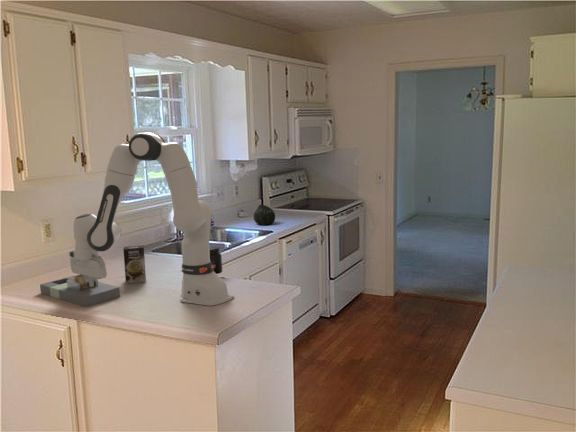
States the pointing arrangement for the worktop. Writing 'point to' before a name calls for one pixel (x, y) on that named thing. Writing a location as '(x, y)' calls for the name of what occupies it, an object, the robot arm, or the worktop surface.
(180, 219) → the robot arm
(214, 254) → the supplement bottle
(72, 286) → the tunnel deck
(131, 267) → the coffee box
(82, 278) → the maple block
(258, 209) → the squash
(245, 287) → the worktop surface
